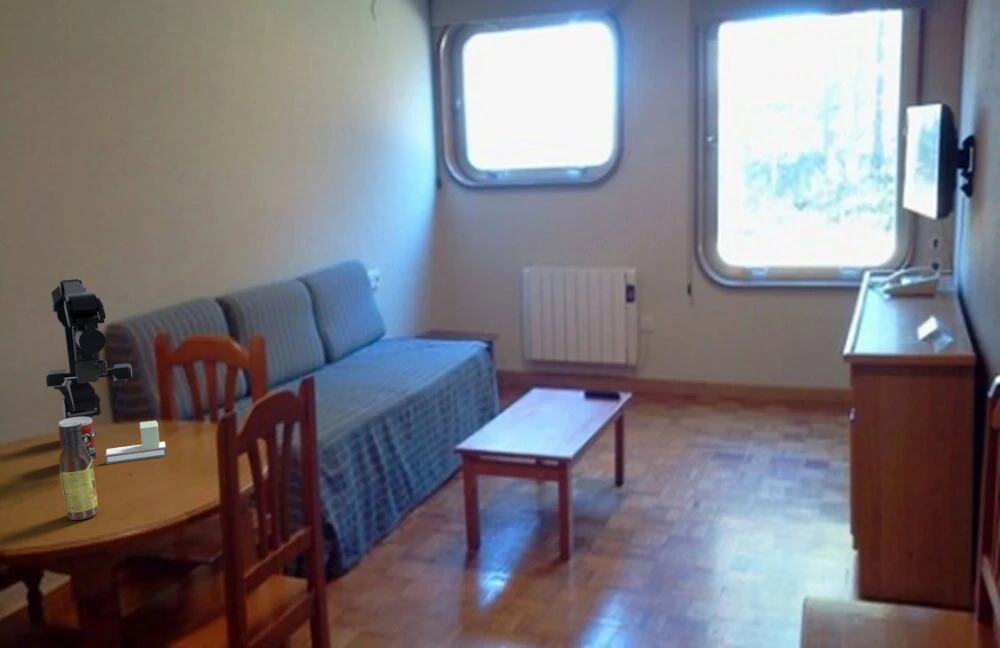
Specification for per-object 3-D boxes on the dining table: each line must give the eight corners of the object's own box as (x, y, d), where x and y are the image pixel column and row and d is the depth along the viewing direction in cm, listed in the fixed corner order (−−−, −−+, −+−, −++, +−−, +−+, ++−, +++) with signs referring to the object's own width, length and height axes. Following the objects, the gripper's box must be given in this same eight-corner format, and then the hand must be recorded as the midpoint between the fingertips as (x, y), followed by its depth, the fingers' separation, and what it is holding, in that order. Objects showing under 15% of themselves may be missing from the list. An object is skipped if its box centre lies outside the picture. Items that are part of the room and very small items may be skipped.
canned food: (73, 471, 224) (68, 426, 222) (56, 465, 229) (51, 422, 227) (103, 462, 230) (98, 419, 228) (86, 456, 235) (81, 414, 233)
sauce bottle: (104, 514, 195) (93, 423, 192) (74, 524, 190) (63, 430, 187) (89, 507, 199) (79, 418, 196) (60, 516, 195) (49, 424, 191)
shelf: (107, 452, 238) (105, 441, 237) (165, 445, 243) (163, 434, 242) (105, 467, 226) (104, 456, 225) (167, 459, 231) (165, 447, 230)
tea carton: (142, 451, 234) (140, 428, 233) (142, 444, 240) (139, 422, 239) (160, 449, 236) (157, 426, 235) (159, 442, 241) (157, 420, 240)
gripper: (40, 356, 213) (48, 422, 216) (127, 348, 219) (134, 412, 222) (45, 347, 223) (52, 410, 226) (129, 340, 229) (135, 401, 232)
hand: (93, 409), depth 226 cm, fingers open, 9 cm apart
